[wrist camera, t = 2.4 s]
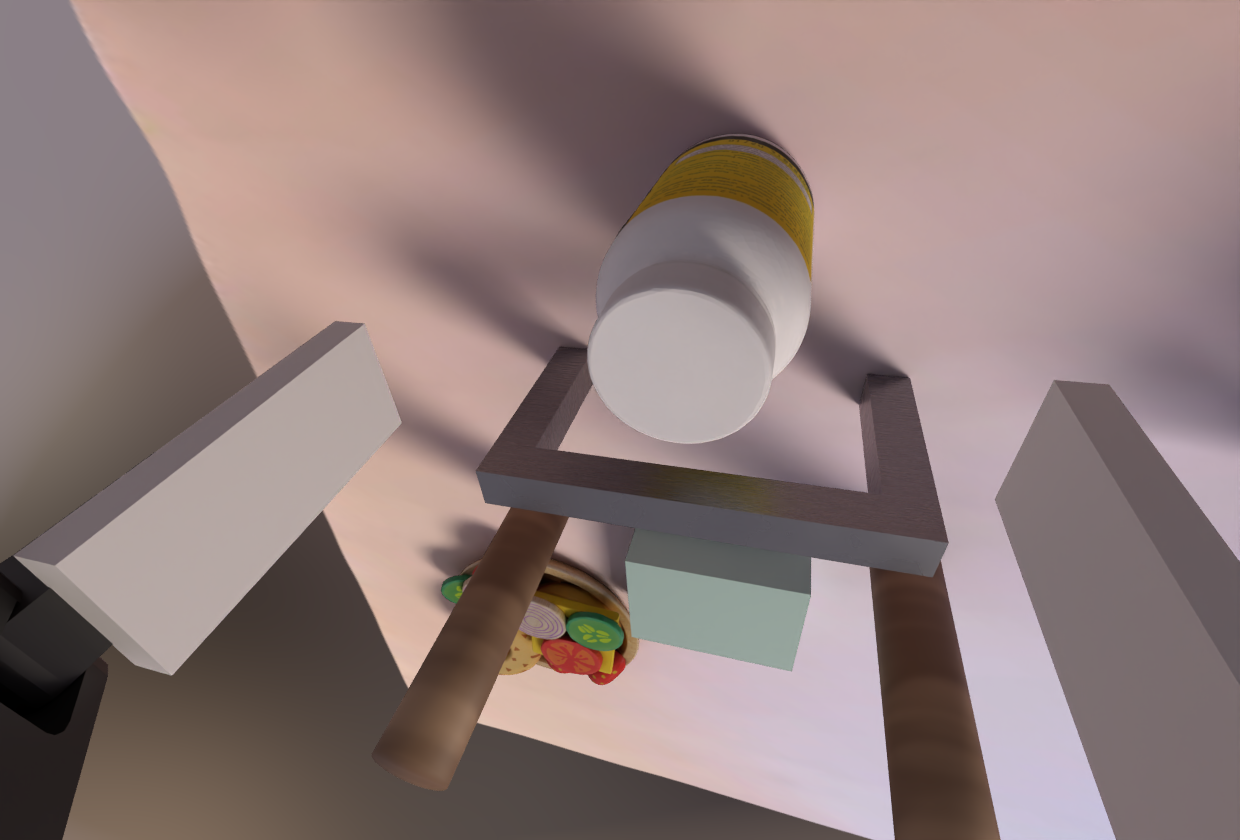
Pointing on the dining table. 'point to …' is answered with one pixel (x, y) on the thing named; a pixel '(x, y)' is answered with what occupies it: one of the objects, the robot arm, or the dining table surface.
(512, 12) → the dining table surface
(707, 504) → the rail hurdle
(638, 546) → the stand
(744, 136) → the supplement bottle
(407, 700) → the post far
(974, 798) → the post near
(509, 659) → the toy food set
